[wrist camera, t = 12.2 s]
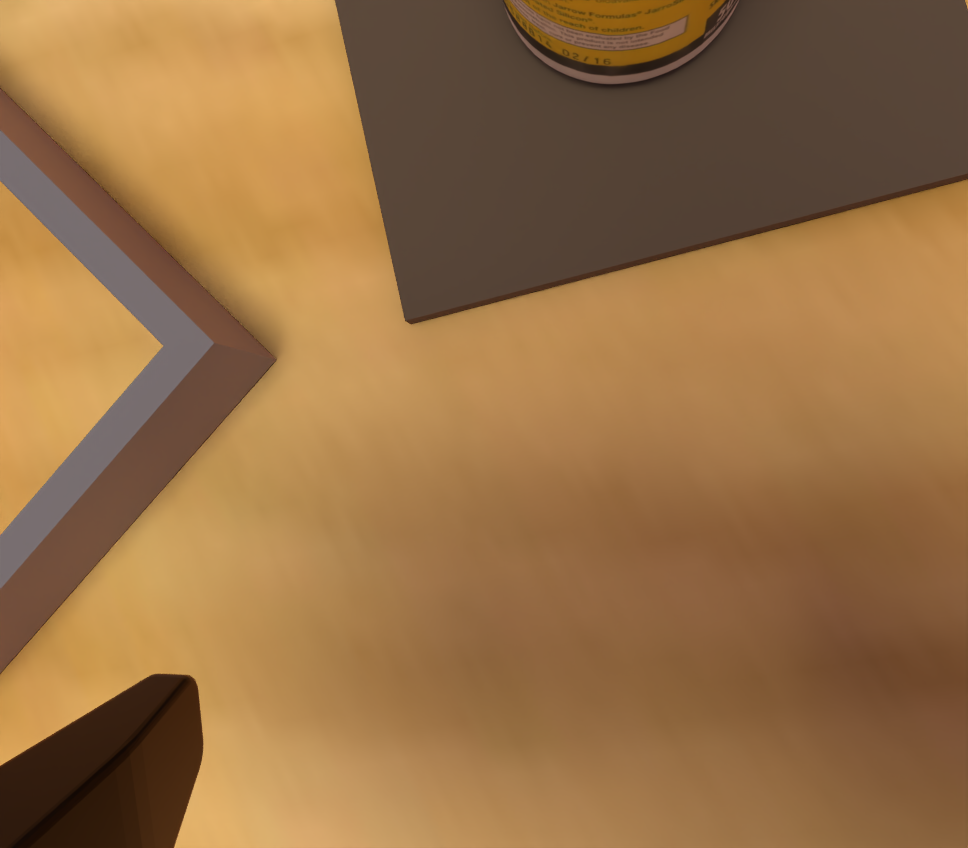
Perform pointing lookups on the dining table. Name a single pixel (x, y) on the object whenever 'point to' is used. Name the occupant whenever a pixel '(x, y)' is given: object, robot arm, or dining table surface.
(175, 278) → the grey square frame
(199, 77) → the dining table surface
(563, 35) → the supplement bottle
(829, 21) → the mat
